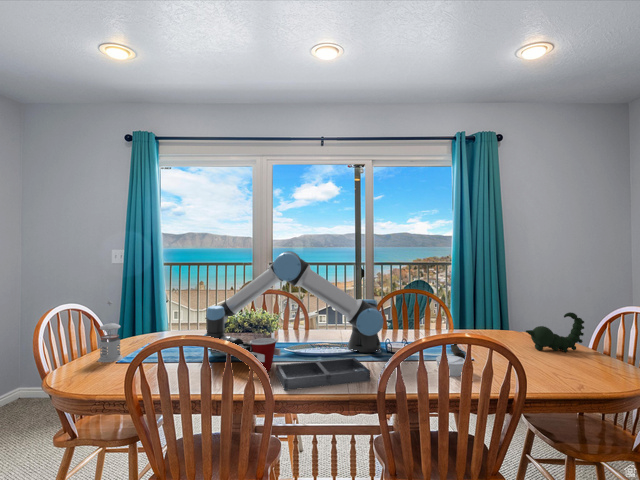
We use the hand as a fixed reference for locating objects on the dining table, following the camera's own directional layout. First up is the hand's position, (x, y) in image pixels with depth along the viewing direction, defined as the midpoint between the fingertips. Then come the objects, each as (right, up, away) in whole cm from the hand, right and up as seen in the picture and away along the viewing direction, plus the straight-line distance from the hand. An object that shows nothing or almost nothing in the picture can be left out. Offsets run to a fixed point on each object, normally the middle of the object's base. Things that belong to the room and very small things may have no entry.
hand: (272, 355), depth 161 cm
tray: (+20, -7, -6) cm, 22 cm away
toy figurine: (+127, -6, +29) cm, 130 cm away
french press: (-72, -6, +18) cm, 75 cm away
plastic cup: (-4, -7, +3) cm, 8 cm away
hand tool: (+79, -6, +23) cm, 82 cm away
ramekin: (+70, -7, 0) cm, 70 cm away
